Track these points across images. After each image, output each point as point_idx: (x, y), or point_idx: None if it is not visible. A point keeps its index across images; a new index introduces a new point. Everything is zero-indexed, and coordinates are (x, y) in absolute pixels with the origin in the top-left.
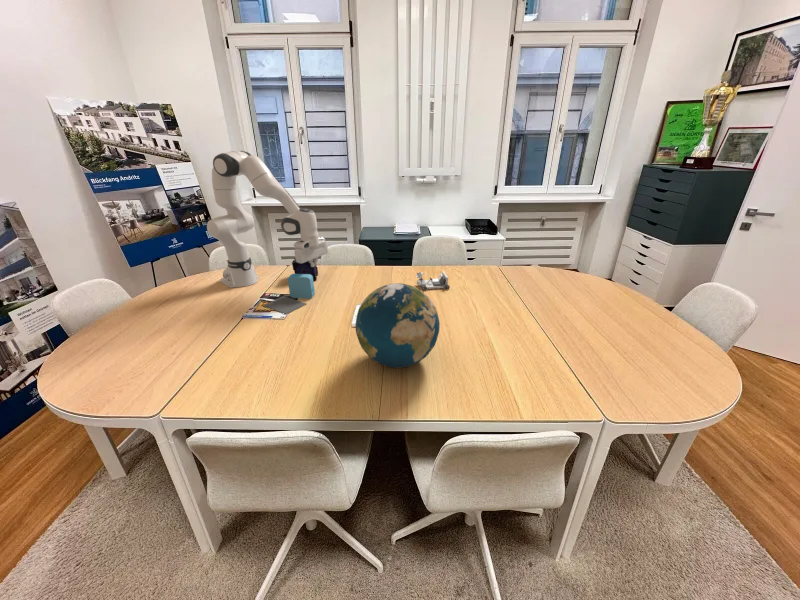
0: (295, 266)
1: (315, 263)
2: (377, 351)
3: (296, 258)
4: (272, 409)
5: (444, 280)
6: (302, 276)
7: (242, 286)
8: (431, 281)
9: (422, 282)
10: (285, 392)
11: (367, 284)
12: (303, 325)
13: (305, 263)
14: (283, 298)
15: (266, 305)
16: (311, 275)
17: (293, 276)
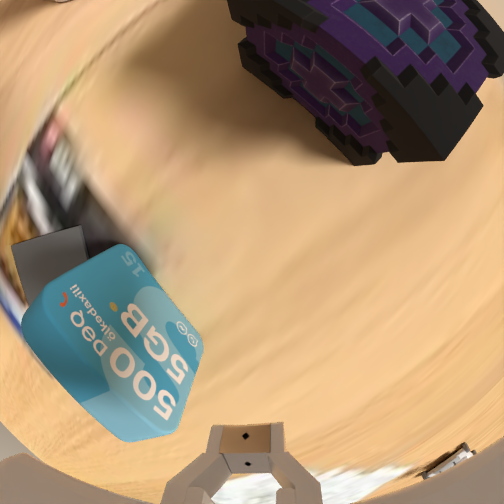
0: (251, 15)
1: (261, 469)
2: None
3: (3, 486)
4: (45, 461)
5: None
6: (96, 413)
7: (58, 1)
8: (461, 459)
9: (446, 467)
10: (54, 463)
11: (429, 397)
12: (89, 430)
13: (361, 71)
14: (70, 252)
15: (17, 256)
16: (165, 434)
17: (44, 360)
